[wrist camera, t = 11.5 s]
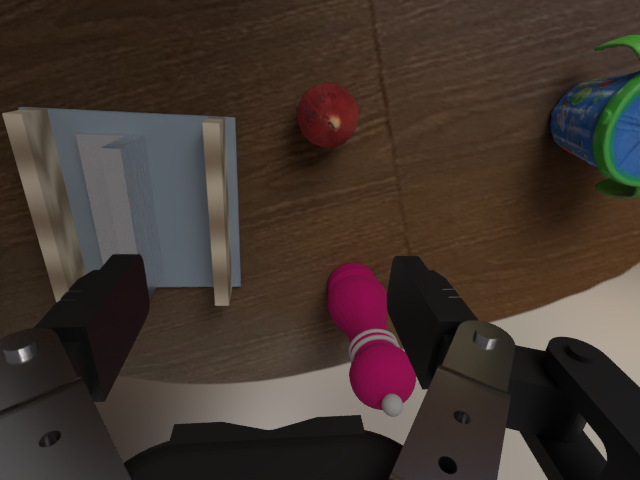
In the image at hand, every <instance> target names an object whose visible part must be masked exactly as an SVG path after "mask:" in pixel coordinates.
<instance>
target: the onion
mask: <svg viewBox="0 0 640 480" xmlns="http://www.w3.org/2000/svg"><path fill="white" fill-rule="evenodd" d="M358 114H359V111H358V108H357V104H356V101H355V99H354V98H353V97H352V95H351V94H350V93H349V92H348V91H347V90H346V89H345V88H343V87H341V86H339V85H337V84H330V83H323V84H320V85H317V86H314V87H312V88H311V89H310V90H309V91H308V92H307V93H306V94H304V95H303V96H302V99H301V101H300V103H299V106H298V108H297V123H298V125H299V127H300V129H301V131H302V133H303V135H304V136H305V137H306V138H307V139H308V140H309V141H310V142H311V143H312V144H315V145H318V146H320V147H325V148H335V147H337V146H339V145H342V144H344V143H345V142H346V141H347V140H348V139H349V138H350V137H351V136H352V135H353V133H354V131H355V128H356V126H357V123H358Z"/></svg>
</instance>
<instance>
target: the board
mask: <svg viewBox="0 0 640 480" xmlns="http://www.w3.org/2000/svg"><path fill="white" fill-rule="evenodd" d="M28 108H35V107H19V110H23V109H28ZM38 109H47V111H48V115H49V120H50V124H51V128H52V132H53V136H54V141H55V145H56V149H57V153H58V157H59V162H60V166H61V170H62V174H63V179H64V183H65V187H66V191H67V195H68V200H69V204H70V208H71V212H72V217H73V221H74V225H75V229H76V233H77V238H78V242H79V246H80V250H81V254H82V259H83V263H84V267H85V271H86V274H87V273H89V272H91V271H93V270H100V269H101V267H102V266H103V262H102V258H101V253H100V248H99V243H98V239H97V234H96V229H95V224H94V220H93V215H92V210H91V206H90V201H89V196H88V191H87V187H86V182H85V177H84V173H83V168H82V163H81V158H80V154H79V149H78V144H77V139H76V135H75V134H77V133H79V132H97V133H121V134H145V136H146V143H147V151H148V158H149V166H150V173H151V181H152V188H153V195H154V203H155V210H156V218H157V225H158V233H159V240H160V248H161V255H162V263H163V270H164V273H163V275H162V277H161V279H160V281H159V283H158V285H157V287H214V282H213V267H212V253H211V239H210V225H209V210H208V196H207V182H206V168H205V153H204V139H203V125H202V123H203V122H204V121H205V120H206V119H207V118H208V117H220V116H200V115H179V114H159V113H138V112H117V111H97V110H76V109H56V108H38ZM224 118H225V136H226V158H227V180H228V202H229V224H230V246H231V268H232V287H241V269H240V239H239V209H238V180H237V150H236V120H235V117H224Z"/></svg>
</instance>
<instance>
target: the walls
mask: <svg viewBox="0 0 640 480" xmlns="http://www.w3.org/2000/svg"><path fill="white" fill-rule="evenodd" d="M2 115H3V118H4V122H5V125H6V129H7V132H8V136H9V139H10V143H11V146H12V150H13V153H14V157H15V160H16V164H17V167H18V171H19V174H20V177H21V181H22V184H23V188H24V191H25V195H26V198H27V202H28V205H29V209H30V212H31V216H32V219H33V223H34V226H35V230H36V233H37V237H38V240H39V244H40V247H41V251H42V254H43V258H44V261H45V265H46V268H47V272H48V275H49V279H50V282H51V286H52V289H53V292H54V296H55V299H56V303H57V302H58V301H60V298H61V297H62V296H63V295H64V294H65V293H66V292H68V289H69V288H70V287H71V286H72V285H73V284H74V283H75V282H76V281H77V279H79V278H81V277H82V276H84V275H86V271H85V267H84V263H83V259H82V254H81V250H80V246H79V242H78V238H77V233H76V229H75V225H74V221H73V217H72V212H71V208H70V204H69V200H68V195H67V191H66V187H65V183H64V179H63V174H62V170H61V166H60V162H59V157H58V153H57V149H56V145H55V141H54V136H53V132H52V128H51V124H50V120H49V115H48V111H47V109H38V108H28V109H23V110H17V111H12V112H7V113H2ZM202 125H203V139H204V153H205V168H206V182H207V196H208V210H209V225H210V239H211V253H212V267H213V282H214V296H215V306H229V302H230V296H231V291H232V268H231V246H230V224H229V202H228V180H227V158H226V136H225V118H224V117H208V118H207V119H206V120H205V121H204V122H203V123H202Z"/></svg>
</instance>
